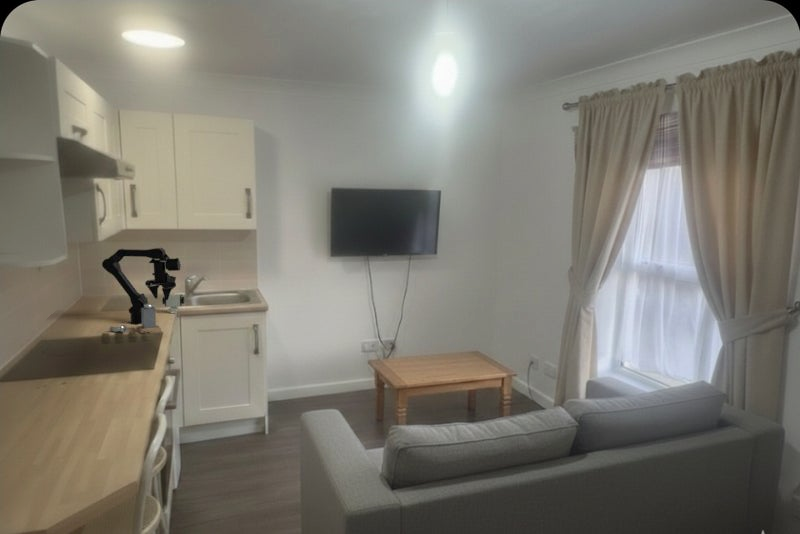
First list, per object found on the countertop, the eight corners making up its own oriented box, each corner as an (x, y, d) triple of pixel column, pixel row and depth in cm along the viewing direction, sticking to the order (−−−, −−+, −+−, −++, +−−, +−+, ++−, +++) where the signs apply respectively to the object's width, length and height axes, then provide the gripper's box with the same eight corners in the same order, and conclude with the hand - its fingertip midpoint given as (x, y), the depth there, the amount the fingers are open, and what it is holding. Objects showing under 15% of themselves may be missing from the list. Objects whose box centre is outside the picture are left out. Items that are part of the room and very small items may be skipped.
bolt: (108, 332, 257) (108, 325, 257) (113, 330, 261) (113, 323, 260) (121, 333, 256) (121, 326, 256) (126, 331, 260) (126, 324, 259)
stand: (136, 330, 263) (136, 326, 263) (155, 328, 269) (155, 324, 269) (141, 333, 256) (141, 330, 256) (160, 331, 262) (160, 327, 262)
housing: (141, 326, 262) (141, 304, 261) (153, 325, 266) (152, 302, 264) (144, 328, 259) (143, 305, 257) (155, 327, 262) (155, 304, 261)
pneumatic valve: (183, 313, 305) (183, 293, 303) (162, 314, 301) (162, 294, 300) (185, 311, 310) (184, 292, 308) (164, 312, 307) (163, 292, 305)
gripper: (183, 270, 279) (185, 298, 281) (162, 268, 289) (163, 295, 291) (165, 272, 270) (167, 301, 272) (143, 270, 279) (145, 298, 281)
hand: (161, 299), depth 279 cm, fingers open, 9 cm apart
